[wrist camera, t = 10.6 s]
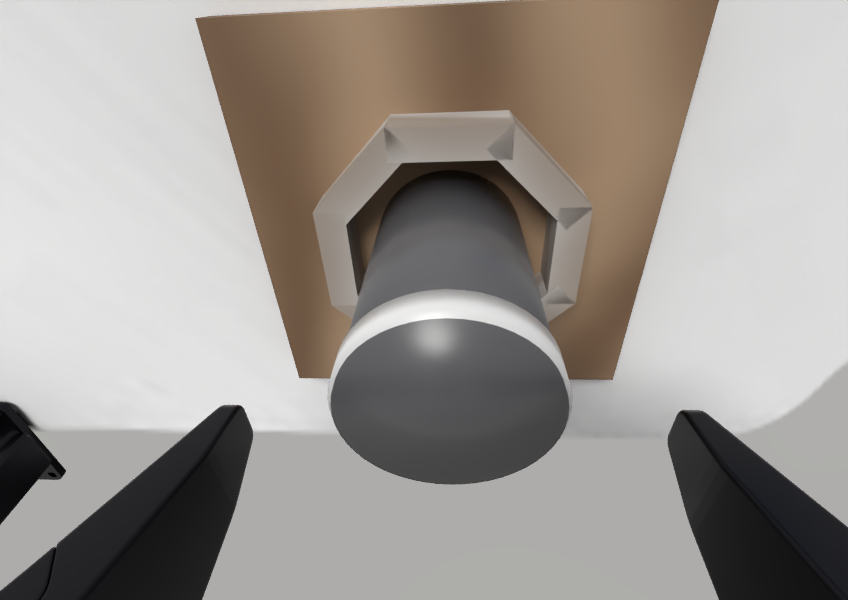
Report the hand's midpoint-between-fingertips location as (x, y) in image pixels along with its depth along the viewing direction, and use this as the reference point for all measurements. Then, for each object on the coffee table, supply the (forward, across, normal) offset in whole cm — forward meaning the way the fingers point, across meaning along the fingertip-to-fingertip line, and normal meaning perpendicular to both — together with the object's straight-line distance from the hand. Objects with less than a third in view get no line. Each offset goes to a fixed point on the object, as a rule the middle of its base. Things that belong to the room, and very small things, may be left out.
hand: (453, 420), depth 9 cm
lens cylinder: (+8, 0, 0) cm, 8 cm away
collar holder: (+9, 0, 0) cm, 9 cm away
